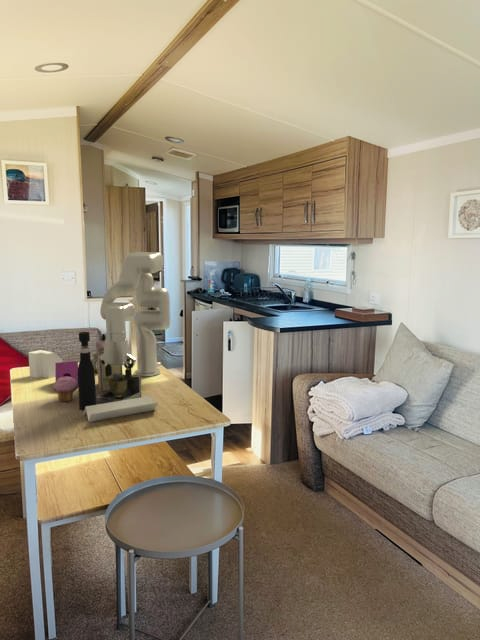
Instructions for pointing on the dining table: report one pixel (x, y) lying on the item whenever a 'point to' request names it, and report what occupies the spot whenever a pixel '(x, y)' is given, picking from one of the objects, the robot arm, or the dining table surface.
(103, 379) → the box
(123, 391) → the cup
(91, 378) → the wine bottle
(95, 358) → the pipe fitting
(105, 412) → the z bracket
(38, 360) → the corner bracket
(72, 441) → the dining table surface
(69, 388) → the cupcake
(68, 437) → the dining table surface
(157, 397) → the dining table surface
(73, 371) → the mounting bracket
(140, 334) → the robot arm
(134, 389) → the tray
